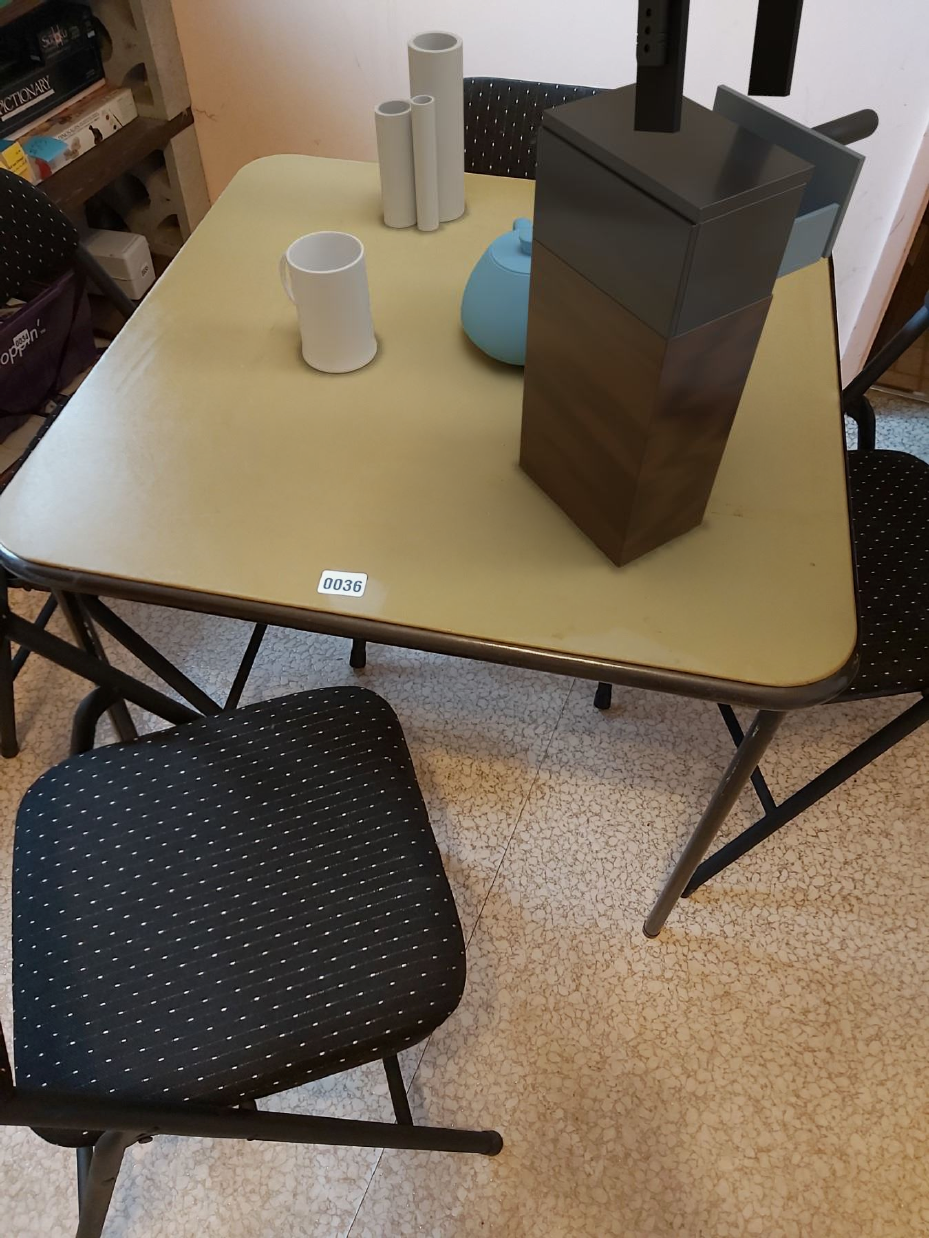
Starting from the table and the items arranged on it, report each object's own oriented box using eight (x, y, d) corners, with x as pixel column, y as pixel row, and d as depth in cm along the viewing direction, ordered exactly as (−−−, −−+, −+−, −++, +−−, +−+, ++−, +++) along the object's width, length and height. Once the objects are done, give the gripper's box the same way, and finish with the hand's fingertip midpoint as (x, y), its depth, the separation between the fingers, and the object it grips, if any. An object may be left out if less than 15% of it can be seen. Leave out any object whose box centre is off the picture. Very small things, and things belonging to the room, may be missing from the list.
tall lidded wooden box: (597, 429, 87) (650, 77, 61) (701, 524, 79) (815, 165, 53) (518, 465, 84) (539, 111, 58) (618, 568, 76) (695, 210, 50)
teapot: (453, 293, 102) (451, 189, 92) (614, 283, 104) (629, 179, 93) (470, 397, 91) (469, 291, 81) (651, 384, 92) (673, 277, 82)
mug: (268, 341, 97) (246, 242, 87) (323, 308, 101) (307, 210, 91) (337, 383, 92) (321, 284, 83) (392, 348, 96) (383, 249, 86)
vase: (445, 192, 117) (440, 26, 101) (476, 213, 114) (476, 45, 98) (377, 218, 113) (361, 49, 97) (406, 240, 110) (395, 69, 94)
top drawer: (789, 148, 73) (816, 54, 67) (920, 218, 66) (963, 119, 60) (611, 212, 66) (624, 115, 61) (734, 297, 59) (762, 196, 54)
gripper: (811, -346, 49) (758, 82, 62) (541, -424, 35) (546, 145, 49) (947, -384, 45) (859, 84, 58) (698, -489, 31) (657, 153, 44)
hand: (716, 113), depth 53 cm, fingers open, 13 cm apart
